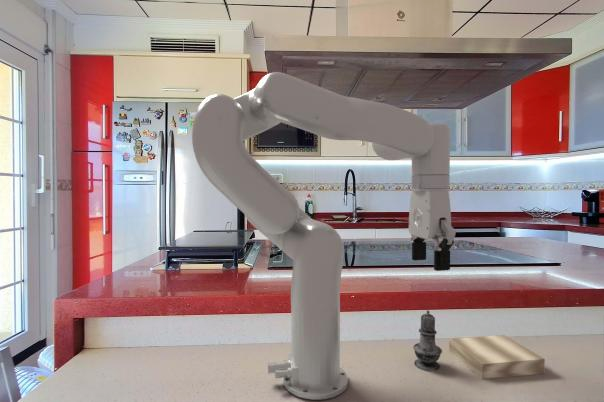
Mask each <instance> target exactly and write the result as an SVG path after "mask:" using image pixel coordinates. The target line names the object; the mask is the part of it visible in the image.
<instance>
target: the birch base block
mask: <svg viewBox="0 0 604 402" xmlns="http://www.w3.org/2000/svg"><path fill="white" fill-rule="evenodd" d="M448 352H449V353H450V354H451V356H454V357H455V358H456V359H457V360H458V361H460V362H461V363H462V364H463V365H465V366H466V367H467V368H468V369H469V370H471V371H472V372H473V373H474V374H476V376H478V377H479V378H480V379H482V380H483V379H485V380H486V379H495V378H507V377H516V376H517V377H518V376H528V375H529V376H530V375H538V374H539V375H540V374H545V366H546V365H545V363H546V362H545V358H544V357H542V356H540V355H539V354H537V353H536V352H534V351H532V350H531V349H529V348H527V347H526V346H523V345H522V344H520V343H519V342H518V341H517V342H516V341H515V340H513V339H511V337H508V336H506V335H505V334H501V335H500V334H499V335H487V336H486V335H485V336H484V335H483V336H472V337H470V336H469V337H458V338H456V337H455V338H449V339H448Z"/></svg>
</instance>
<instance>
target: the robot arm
mask: <svg viewBox="0 0 604 402" xmlns="http://www.w3.org/2000/svg"><path fill="white" fill-rule="evenodd" d="M195 112H196V113H195V115H194V119H193V124H192V132H191V133H192V134H191V142H192V143H191V144H192V150H193V153H194V156H195V159H196V162H197V164H198V166H199V168H200V170H201V172H202V173H203V175H204V176H205V177H206V178H207V180H208V181H209V182H210V183H211V185H212V186H213V187H215V188H216V190H218V191H219V192H220V193H221V194H222V195H223V196H224V197H225V198H226V199H227V200H228V201H229V202H230V203H231V204H232V205H233V206H235V207H236V208H237V209H239V211H240V212H241V213H243V214H244V215H245V218H246V219H247V221H248V223H250V224H251V225H252V226H253V227H254V228H255V229H256V230H257V231H259V232H260V233H261V235H263V236H264V237H266V238H267V239H268V240H269V241H270V242H271V243H273V244H274V245H275V246H276V247H277V248H278V249H279V250H280V251H282V252H283V253H284V254H285V255H286V256H287V257H289V258H290V259H291V260H292V264H293V265H292V275H291V282H290V283H291V284H290V313H291V314H290V323H291V325H290V327H291V328H290V329H291V331H290V333H291V334H290V341H291V342H290V348H291V349H290V350H291V351H290V354H288V355H287V356H288V358H287V359H285V360H283V362H282V361H281V362H280V361H279V362H277V361H275V362H267V374H274V378H275V379H282V380H283V381H282V383H283V386H284V388H285V389H286V390H287V391H288V392H289V393H290V394H292V395H294V396H296V397H298V398H302V399H305V400H312V401H313V400H316V401H318V400H320V401H321V400H327V399H331V398H334V397H337V396H339V395H341V394H342V393H343V392H345V391H346V389H347V387H348V384H349V377H348V374H347V372H346V371H345V370H344V369H343V368H341V366H340V365H341V350H340V349H341V277H342V271H343V265H344V259H345V248H344V242H343V239H342V238H341V235H340V234H339V233H338V232H337V230H336V229H335V228H334V227H333V226H331V225H329V224H327V223H325V222H322V221H319V220H315V219H313V218H311V217H310V216H309V214H307V213H306V212H305V211H304V210H303V209H301V207H300V206H299V205H300V204H299V202H298V199H297V198H296V197H295V195H294V194H293V193H292V192H291V191H290V190H289V189H288V188H286V187H285V185H283V184H281V183H280V182H279V181H278V180H277V179H276V178H274V177H273V175H272V174H270V173H269V172H268V171H267V170H265V168H264V167H262V165H261V164H260V163H259V162H257V160H256V159H255V158H254V157H253V156H252V155H251V153H250V152H249V151H248V149H247V148H246V145H245V143H244V141H246V140H248V139H251V138H254V137H255V136H257V135H259V134H261V133H263V132H265V131H268V130H270V129H272V128H273V127H275V126H277V125H279V124H281V123H282V124H285V125H288V126H291V127H293V128H297V129H300V130H303V131H305V132H307V133H308V132H309V133H311V134H313V135H316V136H319V137H322V138H325V139H329V140H335V141H360V142H366V143H371V146H372V149H373V152H374V153H375V154H376V155H377V156H378V157H379V158H380V159H383V160H386V161H398V160H403V159H404V160H406V159H411V195H410V199H409V200H410V201H409V213H408V214H409V215H408V232H409V234H410V235H411V237H410V241H411V259H412V261H426V259H427V241H430V240H431V239H432V242H433V245H434V247H435V250H433V270H434V271H437V272H439V271H440V272H441V271H444V272H445V271H449V270H451V251H452V250H453V245H454V243H455V241H454V240H455V237H456V233H457V232H456V229H455V228H454V227H453V226H452V214H451V213H452V212H451V211H452V210H451V209H452V208H451V201H450V200H451V198H450V193H449V191H450V169H451V162H450V161H451V160H450V159H451V158H450V157H451V130H450V127H449V126H448V125H447V124H445V123H439V122H438V123H435V122H433V123H429V122H428V121H427V120H426V119H424V118H423V117H422V116H420V115H418V114H416V113H413V112H411V111H408V110H406V109H403V108H401V107H397V105H396V106H395V105H392V104H388V103H383V102H378V101H374V100H370V99H369V100H367V99H362V98H359V97H358V98H357V97H351V96H350V97H349V96H347V95H342V94H339V93H337V92H333V91H331V90H329V89H326V88H324V87H321V86H320V85H319V86H318V85H316V84H313V83H311V82H309V81H306V80H303V79H301V78H299V77H295V76H292V75H290V74H287V73H285V72H282V71H281V72H279V71H274V72H273V71H272V72H269V73H267V74H266V75H265V76H263V77H262V78H261V79H260V80H259V82H258V83H257V85H255V88H253V89H252V90H249V91H248V92H245V93H244V94H242V95H239V96H237V97H235V98H232V97H231V96H228V95H227V94H222V93H216V94H211V95H210V96H207V97H206V98H204V99H203V100H202V102H200V104H199V105H198V107H197V109H196V111H195ZM425 240H426V241H425ZM440 241H441V242H440Z"/></svg>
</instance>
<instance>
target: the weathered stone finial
mask: <svg viewBox="0 0 604 402" xmlns="http://www.w3.org/2000/svg"><path fill="white" fill-rule="evenodd" d="M435 328H436V317H435V316H434V315H432V314H431V313H430V310H428V309H427V310H426V313H424V314H422V315H421V316H420V328H419V329H418V332H419V333H420V334H419V335H420V336H419V342H418V343H415V344H413V346H412V349H413V351H414V354H415V356H416V358H417V359H415V360H414V363H413V364H414V366H415V367H416V368H418V369H420V370H422V371H425V372H436V371H439V370H440V369H441V365H440V363H439V362H438V360H439V359H440V357H441V354H442V353H443V350H442V348H441V347H440V346H439V345H437V344H436V335H437V333H438V332H437V331H436V329H435Z"/></svg>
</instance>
